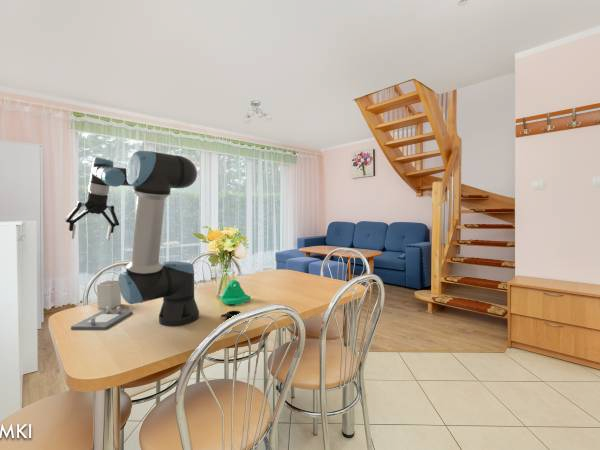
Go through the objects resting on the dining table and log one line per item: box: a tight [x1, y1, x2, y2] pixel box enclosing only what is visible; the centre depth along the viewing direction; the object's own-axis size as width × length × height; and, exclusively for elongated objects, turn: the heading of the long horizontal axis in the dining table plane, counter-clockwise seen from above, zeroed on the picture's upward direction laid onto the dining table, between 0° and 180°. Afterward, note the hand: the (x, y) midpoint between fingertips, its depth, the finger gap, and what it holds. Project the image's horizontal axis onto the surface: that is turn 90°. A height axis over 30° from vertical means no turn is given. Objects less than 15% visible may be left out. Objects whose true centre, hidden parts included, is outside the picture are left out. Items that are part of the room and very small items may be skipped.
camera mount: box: [220, 279, 251, 306], centre depth 143 cm, size 12×8×10 cm, turn 127°
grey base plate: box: [70, 306, 133, 331], centre depth 119 cm, size 13×17×4 cm
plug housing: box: [96, 280, 122, 310], centre depth 136 cm, size 6×7×11 cm
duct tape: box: [220, 310, 242, 321], centre depth 121 cm, size 8×10×3 cm
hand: (90, 238), depth 136 cm, fingers open, 13 cm apart
